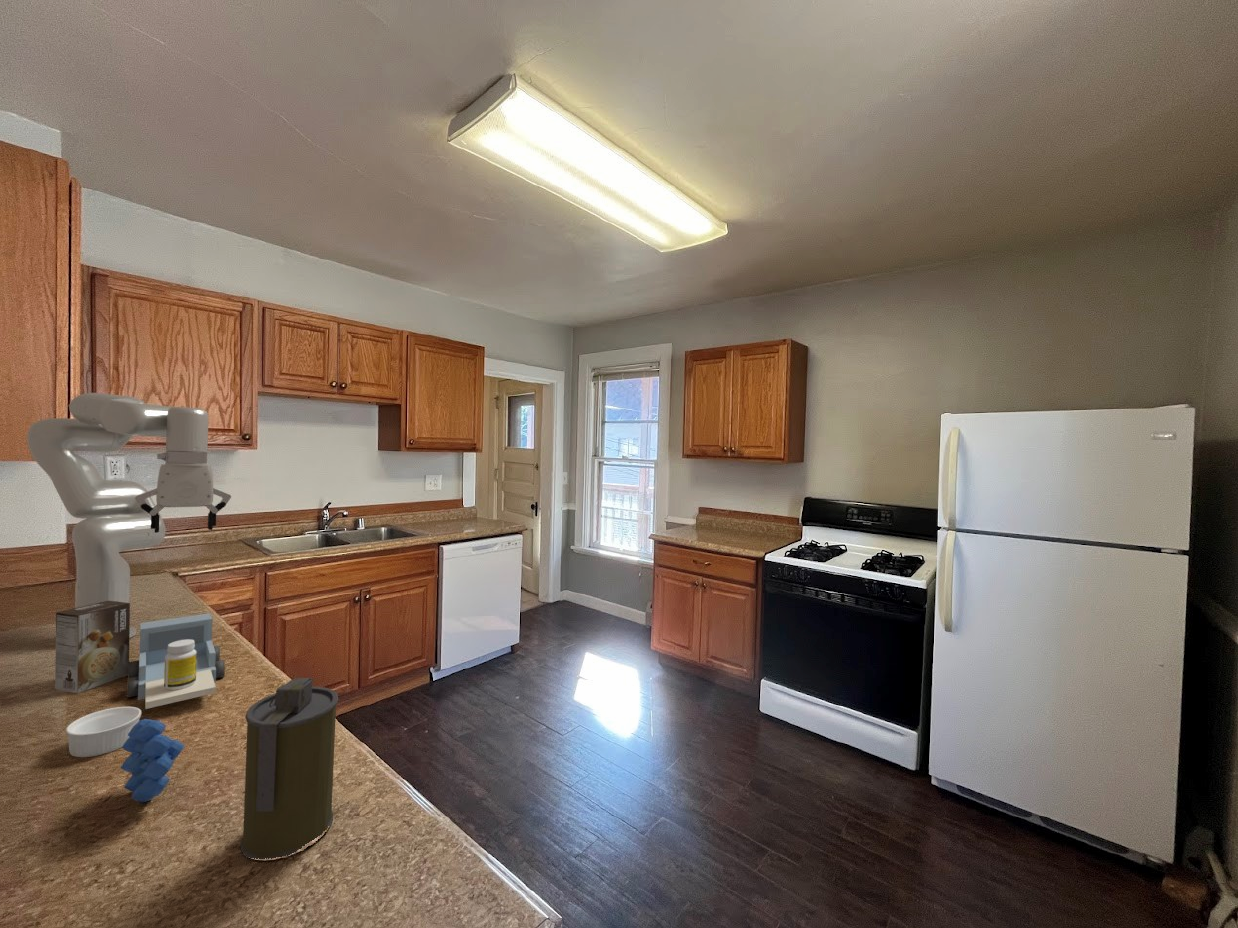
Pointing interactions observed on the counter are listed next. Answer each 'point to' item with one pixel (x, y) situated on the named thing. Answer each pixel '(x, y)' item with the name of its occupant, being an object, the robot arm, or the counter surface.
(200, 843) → the counter surface
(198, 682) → the panel
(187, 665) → the supplement bottle
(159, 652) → the pale blue toy cart
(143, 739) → the grapes
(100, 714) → the ramekin
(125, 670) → the coffee box
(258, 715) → the canister
